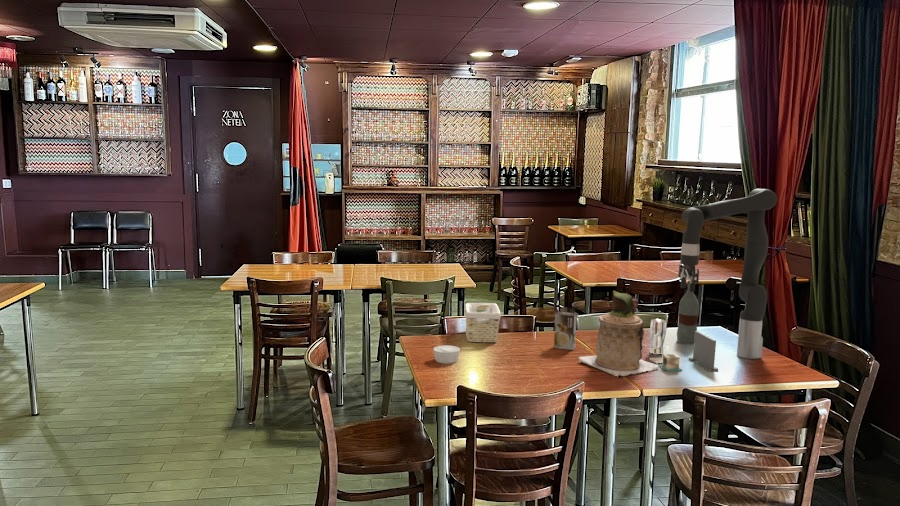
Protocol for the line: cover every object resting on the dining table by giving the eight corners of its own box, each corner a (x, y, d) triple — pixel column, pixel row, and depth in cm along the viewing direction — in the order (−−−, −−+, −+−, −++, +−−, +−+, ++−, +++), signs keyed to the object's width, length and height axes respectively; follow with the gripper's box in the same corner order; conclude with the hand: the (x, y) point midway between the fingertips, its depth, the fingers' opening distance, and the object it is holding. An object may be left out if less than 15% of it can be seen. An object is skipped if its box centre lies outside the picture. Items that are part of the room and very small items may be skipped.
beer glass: (665, 355, 301) (667, 323, 299) (649, 354, 302) (651, 321, 300) (663, 351, 308) (665, 319, 306) (647, 350, 309) (650, 318, 307)
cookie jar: (618, 378, 267) (623, 300, 263) (576, 362, 288) (579, 289, 284) (660, 369, 280) (666, 294, 276) (617, 354, 301) (621, 284, 297)
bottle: (698, 341, 327) (703, 280, 323) (694, 345, 319) (698, 283, 315) (678, 338, 332) (683, 278, 328) (674, 342, 324) (678, 281, 320)
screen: (699, 359, 296) (701, 330, 294) (717, 370, 280) (720, 340, 279) (688, 359, 296) (690, 330, 294) (706, 371, 280) (709, 340, 278)
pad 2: (674, 365, 286) (674, 364, 286) (682, 371, 279) (682, 369, 279) (658, 366, 285) (658, 364, 285) (665, 371, 278) (666, 369, 278)
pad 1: (664, 359, 296) (664, 357, 296) (671, 363, 289) (671, 362, 289) (649, 359, 295) (649, 357, 295) (655, 364, 288) (656, 362, 288)
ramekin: (429, 362, 283) (429, 350, 282) (438, 355, 293) (439, 343, 292) (454, 366, 279) (454, 353, 278) (463, 358, 289) (463, 346, 288)
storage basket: (464, 330, 337) (464, 301, 335) (496, 331, 338) (497, 302, 336) (465, 343, 314) (466, 312, 312) (500, 344, 314) (501, 313, 312)
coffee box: (575, 347, 312) (577, 313, 309) (573, 350, 306) (574, 316, 303) (556, 344, 315) (558, 311, 313) (553, 348, 309) (554, 313, 307)
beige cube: (673, 365, 285) (674, 353, 284) (678, 368, 280) (679, 356, 279) (661, 365, 284) (662, 353, 283) (666, 369, 279) (667, 357, 279)
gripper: (706, 256, 289) (703, 293, 291) (690, 251, 303) (687, 286, 305) (689, 255, 288) (686, 293, 290) (674, 251, 302) (672, 286, 304)
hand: (687, 289), depth 297 cm, fingers open, 8 cm apart
